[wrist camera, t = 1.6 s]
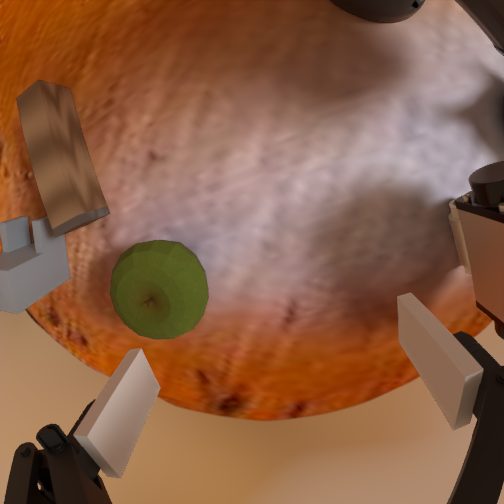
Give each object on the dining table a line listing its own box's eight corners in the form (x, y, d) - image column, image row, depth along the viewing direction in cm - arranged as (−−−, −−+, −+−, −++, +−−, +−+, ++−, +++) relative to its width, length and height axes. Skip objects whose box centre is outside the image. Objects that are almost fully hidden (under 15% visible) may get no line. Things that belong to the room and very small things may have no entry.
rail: (49, 104, 32) (16, 98, 25) (70, 88, 31) (38, 79, 25) (86, 225, 36) (55, 237, 29) (110, 213, 36) (80, 224, 29)
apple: (187, 210, 35) (158, 227, 26) (235, 286, 37) (225, 327, 28) (118, 256, 37) (77, 284, 27) (165, 324, 39) (138, 367, 30)
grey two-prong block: (21, 216, 36) (-51, 240, 22) (62, 213, 36) (-14, 239, 22) (30, 275, 39) (-34, 313, 25) (70, 278, 38) (5, 323, 24)
